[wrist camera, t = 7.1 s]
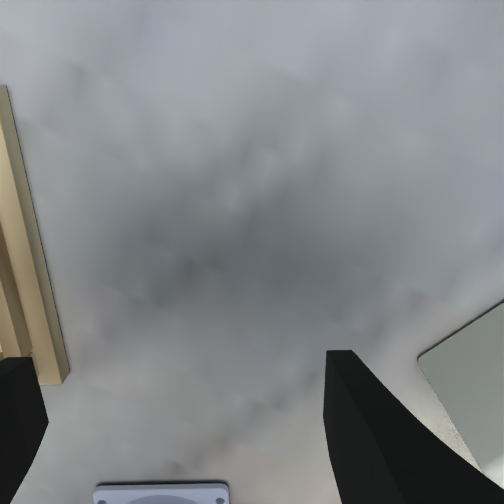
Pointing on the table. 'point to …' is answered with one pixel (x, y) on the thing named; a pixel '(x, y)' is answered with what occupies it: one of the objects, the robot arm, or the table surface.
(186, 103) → the table surface
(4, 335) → the beige wooden frame
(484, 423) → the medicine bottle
